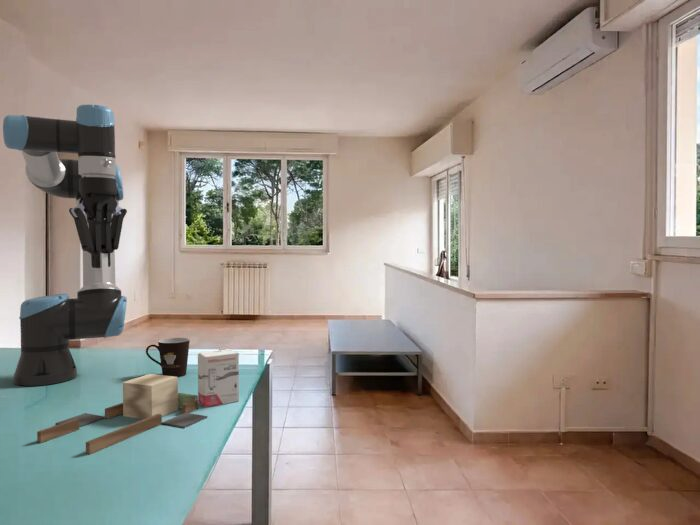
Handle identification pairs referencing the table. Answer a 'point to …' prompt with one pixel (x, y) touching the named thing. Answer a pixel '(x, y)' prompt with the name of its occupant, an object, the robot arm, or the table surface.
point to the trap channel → (73, 424)
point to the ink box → (218, 377)
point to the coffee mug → (172, 356)
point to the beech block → (150, 396)
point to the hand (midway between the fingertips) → (101, 281)
